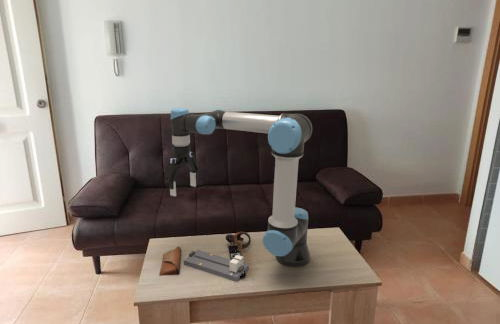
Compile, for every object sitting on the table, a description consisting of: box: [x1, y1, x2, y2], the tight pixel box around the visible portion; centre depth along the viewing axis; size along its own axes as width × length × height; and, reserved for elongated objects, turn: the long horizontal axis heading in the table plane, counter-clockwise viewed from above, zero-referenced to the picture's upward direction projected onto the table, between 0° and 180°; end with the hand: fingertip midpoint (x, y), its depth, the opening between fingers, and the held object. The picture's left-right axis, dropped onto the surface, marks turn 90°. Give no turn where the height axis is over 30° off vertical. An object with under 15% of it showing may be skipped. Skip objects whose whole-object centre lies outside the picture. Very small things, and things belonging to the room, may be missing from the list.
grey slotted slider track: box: [183, 249, 250, 283], centre depth 155 cm, size 26×10×3 cm, turn 63°
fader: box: [230, 254, 244, 272], centre depth 149 cm, size 3×6×4 cm, turn 153°
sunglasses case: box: [158, 245, 182, 277], centre depth 157 cm, size 18×7×7 cm
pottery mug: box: [224, 231, 252, 252], centre depth 170 cm, size 12×10×8 cm
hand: (183, 190), depth 164 cm, fingers open, 13 cm apart
